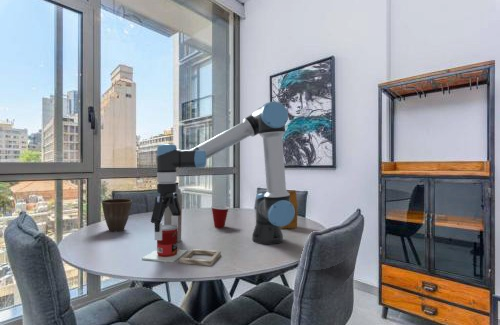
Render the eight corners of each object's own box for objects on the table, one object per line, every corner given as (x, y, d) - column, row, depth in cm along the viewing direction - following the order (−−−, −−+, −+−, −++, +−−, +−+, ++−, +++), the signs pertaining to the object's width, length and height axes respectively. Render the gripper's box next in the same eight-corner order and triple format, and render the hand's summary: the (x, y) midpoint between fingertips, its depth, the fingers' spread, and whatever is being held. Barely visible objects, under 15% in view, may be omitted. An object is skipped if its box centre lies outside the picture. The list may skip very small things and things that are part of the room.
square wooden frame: (220, 254, 116) (220, 251, 116) (210, 265, 103) (210, 261, 103) (192, 252, 118) (192, 248, 118) (179, 262, 106) (179, 258, 106)
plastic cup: (228, 229, 160) (228, 208, 160) (209, 228, 160) (209, 207, 160) (229, 224, 171) (230, 205, 171) (212, 224, 171) (212, 204, 171)
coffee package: (273, 225, 171) (274, 189, 171) (293, 225, 173) (293, 189, 173) (278, 229, 161) (278, 191, 161) (298, 229, 163) (299, 191, 163)
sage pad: (187, 251, 119) (187, 250, 119) (173, 262, 106) (173, 260, 106) (159, 249, 121) (159, 248, 121) (141, 259, 108) (141, 258, 108)
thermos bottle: (183, 239, 138) (184, 182, 138) (176, 243, 130) (177, 183, 130) (168, 238, 139) (169, 181, 139) (160, 242, 131) (161, 182, 131)
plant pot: (137, 229, 156) (137, 200, 156) (111, 234, 144) (112, 203, 144) (121, 225, 164) (121, 198, 164) (95, 230, 152) (96, 200, 152)
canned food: (176, 256, 110) (176, 228, 110) (155, 257, 109) (155, 229, 109) (178, 250, 118) (178, 224, 118) (158, 251, 117) (158, 224, 117)
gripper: (172, 180, 126) (172, 227, 127) (140, 185, 102) (140, 243, 102) (188, 180, 125) (188, 228, 125) (159, 185, 101) (159, 244, 101)
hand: (167, 235), depth 114 cm, fingers open, 13 cm apart
